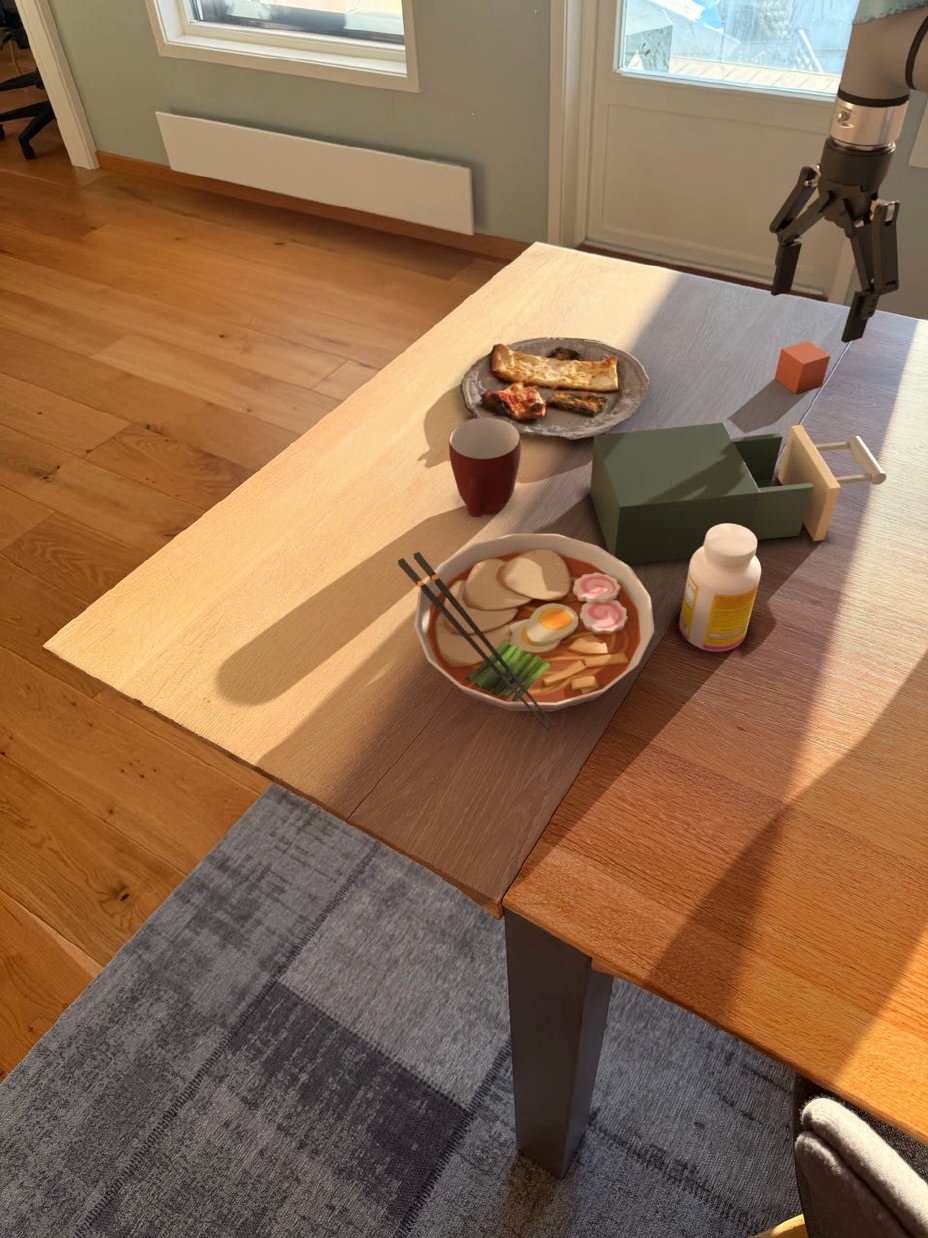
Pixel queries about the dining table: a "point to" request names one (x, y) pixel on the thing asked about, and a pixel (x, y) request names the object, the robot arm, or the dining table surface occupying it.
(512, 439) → the mug
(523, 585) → the ramen bowl
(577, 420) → the food plate
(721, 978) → the dining table surface
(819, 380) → the block
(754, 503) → the cabinet
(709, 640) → the supplement bottle
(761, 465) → the drawer
